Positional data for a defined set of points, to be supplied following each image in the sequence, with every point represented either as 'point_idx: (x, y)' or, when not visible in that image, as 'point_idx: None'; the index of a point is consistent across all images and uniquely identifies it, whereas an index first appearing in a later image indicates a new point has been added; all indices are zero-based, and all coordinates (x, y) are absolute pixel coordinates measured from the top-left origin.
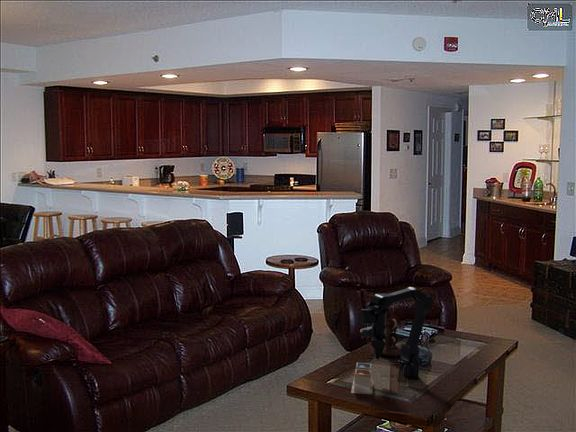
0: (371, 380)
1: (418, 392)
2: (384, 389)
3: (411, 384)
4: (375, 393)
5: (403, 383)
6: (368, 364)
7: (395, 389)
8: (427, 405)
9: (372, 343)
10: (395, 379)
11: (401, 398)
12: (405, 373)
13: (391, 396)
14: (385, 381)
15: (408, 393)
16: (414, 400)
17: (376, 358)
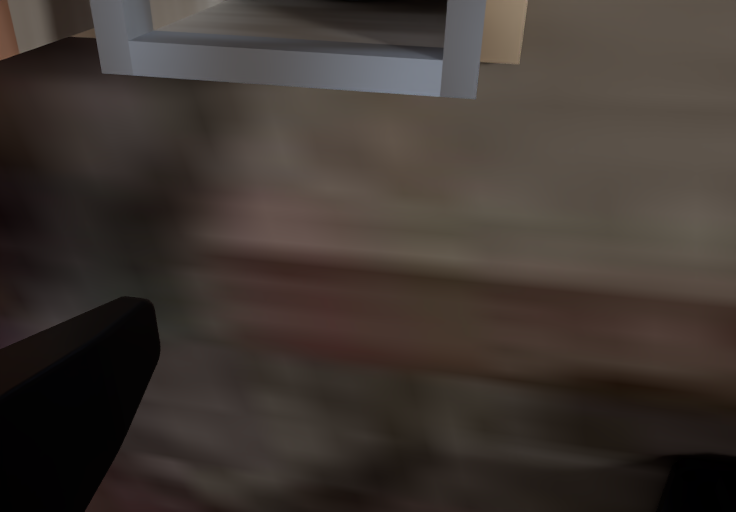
0: (492, 31)
1: (269, 494)
2: (247, 196)
3: (482, 480)
4: (70, 74)
5: (502, 417)
6: (449, 9)
7: (286, 315)
8: None
9: None
10: (640, 357)
11: None
12: (732, 506)
13: (61, 252)
14: (551, 232)
15: (212, 415)
16: None
17: (109, 311)
